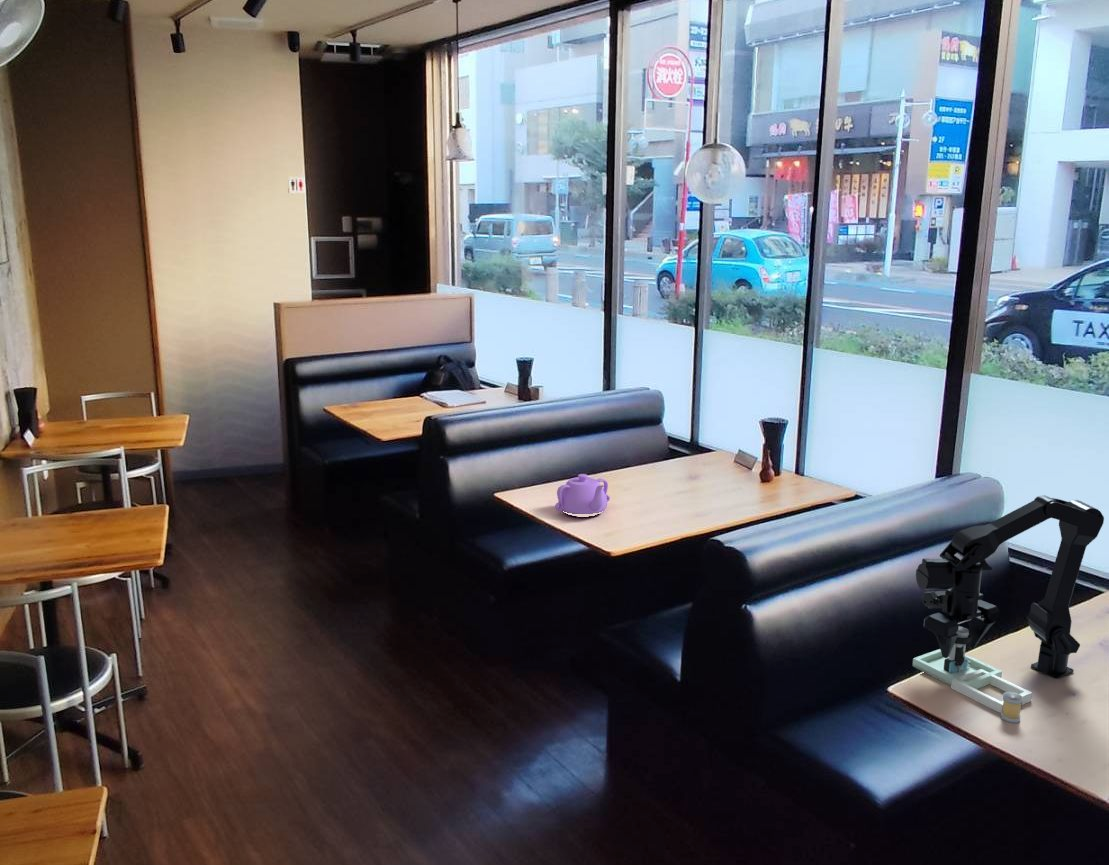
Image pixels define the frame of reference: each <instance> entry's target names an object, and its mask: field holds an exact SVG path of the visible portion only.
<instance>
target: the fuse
mask: <svg viewBox="0 0 1109 865" xmlns="http://www.w3.org/2000/svg"><path fill="white" fill-rule="evenodd" d="M1002 699H1003V701H1004V702H1003V710H1002V712H1001V713H1000V718H1001V720H1003V721H1004V722H1008V723H1011V724H1018V723H1020V722H1021V707H1022V706H1021V703H1022V702H1023V697H1022V696H1021V695H1019V694H1017V693H1014V692H1005V691H1004V692H1003V694H1002Z"/></svg>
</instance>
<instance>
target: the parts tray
mask: <svg viewBox="0 0 1109 865" xmlns="http://www.w3.org/2000/svg"><path fill="white" fill-rule="evenodd" d="M949 656H950V654H949ZM949 656H948V658H949ZM945 659H947V658H944V657H943V656H942V653H941V650H940V648H939V649H936V650H933V651H931V652H927V653H924V654H922V655H919V656H916V657H914V658H913V659H912V667H913V668H915V669H917V670H919V671H921V672H923V673H924V674H927V675H929V676H931V677H933V678H935V679H937V680H939V681H941V682H943V683H945V684H947V685H949V686H950V687H951V686H952V680H954V679H956V680H958V681H960V682H962V683H964V684H967V685H969V686H971V687H973V688H975V689H977V690H978V689H981V688H983V687H985V686H989V685H991V684H990V678H991V675H996V676H998V677H1000V678H1002V675H1003V670H1001V669H998V668H996V667H994V666H992V665H989V664H988V663H986V662H983V661H981V660H979V659H977V658H974V657H972V656H970V655H969V654H966V653H965V659H967V660H969V661H971V662H969V661H968V662H969V663H967V664H969V665H970V666H967V669H966V670H965V671H963V672H962V673H959V672H956V673H952V674H951V673H949V672H947V671H946V670H944V661H945ZM980 669H983V670H985V671H987V672H989V673H987V674H985V675H982V676H980V677H977V678H974V679H972V680H969V681H967V682H966V681H964V680H962V679H960V678H959V677H961V676H964V675H967V674H969V673H972V672H975V671H977V670H980Z"/></svg>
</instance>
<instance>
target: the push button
mask: <svg viewBox="0 0 1109 865" xmlns="http://www.w3.org/2000/svg"><path fill="white" fill-rule="evenodd" d="M956 634H958V636H957V639H956V641H955V643H954V645H953V648H952V650H951V652H950V656H949V658H947V659H945V661H944V670H946V671H947V672H949V673H951V674H952V673H956V672H959V673H962V672H963V671H965V670H966V669H967V666H970V665H969V664H967V663H969V662H971V661H969V660H967V659H965V654H966V646H967V645H969V643H970V642H971V639H972V637H973V635H972V634H971V633H970V632H969V628H967V627H963V626H960V625H959V627H958V631H957V632H956ZM968 661H969V662H968Z"/></svg>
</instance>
